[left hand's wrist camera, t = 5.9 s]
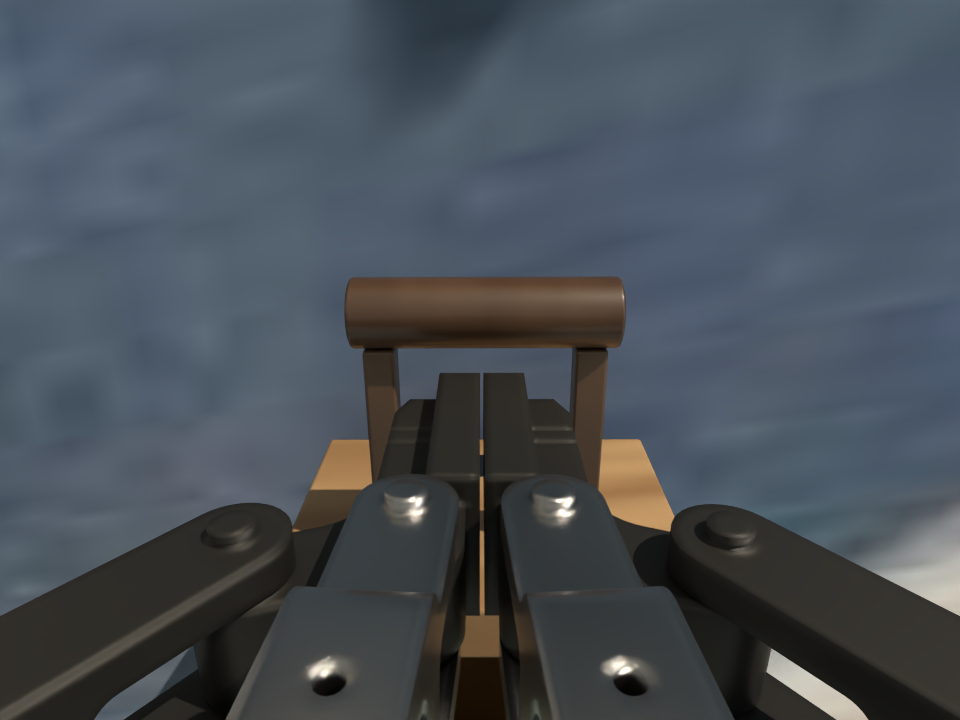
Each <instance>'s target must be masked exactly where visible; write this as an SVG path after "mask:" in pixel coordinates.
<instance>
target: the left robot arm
mask: <svg viewBox="0 0 960 720" xmlns="http://www.w3.org/2000/svg"><path fill="white" fill-rule="evenodd" d="M483 498H484V615H485V616H499V667H500V675H501V682H502V690H503V698H504V706H505V714H506V720H836V719H834V718H833V717H831V716H830V715H828V714H827V713H826V712H824V711H823V710H821V709H820V708H818V707H817V706H815V705H814V704H812V703H811V702H809V701H808V700H806V699H805V698H804V697H802V696H801V695H799V694H798V693H796V692H795V691H793V690H792V689H790V688H789V687H787V686H786V685H784V684H783V683H782V682H780V681H779V680H777V679H776V678H774V677H773V676H771V675H770V674H768V673H767V672H766V671H767V666H768V662H769V657H770V652H771V648H772V649H774V650H775V651H777V652H778V653H780V654H781V655H783V656H784V657H786V658H787V659H789V660H790V661H792V662H794V663H795V664H797V665H798V666H800V667H801V668H803V669H804V670H806V671H807V672H809V673H810V674H812V675H814V676H815V677H817V678H818V679H820V680H821V681H823V682H824V683H826V684H827V685H829V686H830V687H832V688H834V689H835V690H837V691H838V692H840V693H841V694H843V695H844V696H846V697H847V698H849V699H850V700H851V701H852V702H854V703H855V704H856V705H857V706H858V707H859V708H860V709H861V710H862V711H863V713H864V714H865V715H866V717H867V718H868V720H960V616H958V615H956V614H954V613H952V612H950V611H948V610H946V609H944V608H942V607H940V606H938V605H936V604H934V603H932V602H931V601H929V600H927V599H925V598H923V597H921V596H919V595H917V594H915V593H913V592H911V591H909V590H907V589H905V588H903V587H901V586H899V585H897V584H895V583H893V582H891V581H889V580H887V579H885V578H883V577H881V576H879V575H877V574H875V573H873V572H871V571H869V570H867V569H865V568H863V567H861V566H859V565H857V564H855V563H853V562H851V561H849V560H847V559H845V558H843V557H841V556H839V555H837V554H835V553H833V552H831V551H829V550H827V549H825V548H823V547H821V546H819V545H817V544H815V543H813V542H811V541H809V540H807V539H805V538H803V537H801V536H799V535H797V534H795V533H793V532H791V531H789V530H787V529H785V528H783V527H781V526H779V525H777V524H775V523H773V522H772V521H770V520H768V519H766V518H764V517H762V516H759V515H757V514H755V513H753V512H750V511H747V510H744V509H741V508H737V507H733V506H727V505H717V504H704V505H697V506H693V507H689V508H687V509H685V510H682V511H681V512H680V513H678V514H677V515H676V516H675V517H674V519H673V521H672V523H671V529H670V531H665V530H660V529H655V528H650V527H645V526H641V525H637V524H633V523H630V522H627V521H624V520H622V519H620V518H618V517H615V516H614V515H612V514H611V512H610V509H609V507H608V505H607V502H606V500H605V498H604V497H603V495H602V494H601V493H600V492H599V490H598V489H596V488H595V487H594V486H592V485H591V484H589V483H588V481H587V477H586V474H585V470H584V466H583V463H582V459H581V455H580V452H579V448H578V444H576V437H575V433H574V431H573V426H572V422H571V419H570V415H569V412H568V411H566V410H565V409H564V408H563V407H562V406H561V405H559V404H558V403H557V402H556V401H555V400H554V399H528V398H527V391H526V385H525V378H524V373H484V378H483ZM466 616H480V373H440V375H439V382H438V390H437V397H436V399H410V400H409V401H408V402H407V403H405V404H404V405H403V406H402V407H401V408H400V409H398V410H397V411H396V412H395V414H394V418H393V422H392V425H391V431H390V433H389V437H388V444H387V445H386V448H385V452H384V456H383V460H382V464H381V467H380V471H379V475H378V479H377V481H375V482H373V483H371V484H369V485H368V486H366V487H365V488H364V489H362V490H361V492H360V493H359V494H358V495H357V497H356V498H355V500H354V502H353V505H352V507H351V509H350V512H349V514H348V516H347V518H346V519H343V520H341V521H338V522H335V523H333V524H329V525H325V526H321V527H316V528H311V529H306V530H301V531H296V532H293V531H292V523H291V520H290V518H289V517H288V515H287V514H286V513H285V512H283V511H282V510H281V509H279V508H276V507H274V506H271V505H267V504H261V503H240V504H234V505H228V506H224V507H220V508H217V509H215V510H212V511H209V512H207V513H205V514H202V515H200V516H198V517H196V518H194V519H192V520H191V521H189V522H187V523H185V524H183V525H181V526H179V527H177V528H175V529H173V530H171V531H169V532H167V533H165V534H163V535H161V536H159V537H157V538H155V539H153V540H151V541H149V542H147V543H145V544H143V545H141V546H139V547H137V548H135V549H133V550H131V551H129V552H127V553H125V554H123V555H121V556H119V557H117V558H115V559H113V560H111V561H109V562H107V563H105V564H103V565H101V566H99V567H97V568H95V569H93V570H91V571H89V572H87V573H85V574H83V575H81V576H79V577H77V578H75V579H73V580H71V581H69V582H67V583H65V584H63V585H61V586H59V587H57V588H55V589H53V590H51V591H49V592H47V593H45V594H43V595H41V596H39V597H37V598H35V599H33V600H32V601H30V602H28V603H26V604H24V605H22V606H20V607H18V608H16V609H14V610H12V611H10V612H8V613H6V614H4V615H2V616H0V720H94V719H95V717H96V716H97V714H98V713H99V712H100V710H101V709H102V708H103V707H104V706H105V705H106V703H108V702H109V701H110V700H111V699H112V698H113V697H115V696H116V695H117V694H119V693H120V692H122V691H123V690H125V689H126V688H128V687H130V686H131V685H133V684H134V683H136V682H137V681H139V680H140V679H142V678H143V677H145V676H146V675H148V674H150V673H151V672H153V671H154V670H156V669H157V668H159V667H160V666H162V665H163V664H165V663H166V662H168V661H170V660H171V659H173V658H174V657H176V656H177V655H179V654H180V653H182V652H183V651H185V650H186V649H188V648H190V647H191V646H194V651H195V656H196V660H197V665H198V670H196V671H195V672H193V673H192V674H190V675H189V676H187V677H186V678H184V679H183V680H181V681H180V682H178V683H177V684H176V685H174V686H173V687H171V688H170V689H168V690H167V691H165V692H164V693H162V694H161V695H159V696H158V697H156V698H155V699H154V700H152V701H151V702H149V703H148V704H146V705H145V706H143V707H142V708H140V709H139V710H137V711H136V712H134V713H133V714H132V715H130V716H129V717H127V718H126V719H124V720H454V714H455V706H456V698H457V690H458V682H459V675H460V667H461V645H462V643H463V640H464V638H465V629H466Z"/></svg>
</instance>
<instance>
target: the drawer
mask: <svg viewBox="0 0 960 720" xmlns="http://www.w3.org/2000/svg"><path fill="white" fill-rule="evenodd" d="M344 311H345V328H346V335H347V339H348V342H349V344H350V346H351V347H352V348H365V349H364V351H363V368H364V381H365V395H366V408H367V422H368V436H369V440H332V441H331V442H330V444H329V447H328V449H327V451H326V453H325V456H324V458H323V460H322V462H321V465H320V467H319V469H318V471H317V474H316V476H315V478H314V480H313V483H312V485H311V487H310V490H309V492H308V494H307V496H306V499H305V501H304V503H303V505H302V508H301V510H300V512H299V514H298V517H297V519H296V521H295V524H294V526H293V528H292V531H293V532H296V531H301V530H306V529H311V528H316V527H321V526H325V525H329V524H333V523H335V522H338V521H341V520H343V519H346V518H347V516H348V514H349V512H350V509H351V507H352V505H353V502H354V500H355V498H356V497H357V495H358V494H359V493H360V492H361V490H362V489H364V488H365V487H366V486H368V485H369V484H371V483H373V482H375V481H377V479H378V475H379V471H380V467H381V464H382V460H383V456H384V452H385V448H386V445H387V444H388V437H389V433H390V431H391V425H392V422H393V418H394V414H395V412H396V411H397V410H398V409H400V408H401V406H400V387H399V368H398V349H397V348H573V351H572V372H571V393H570V413H569V415H570V419H571V422H572V426H573V431H574V433H575V437H576V444H578V448H579V452H580V455H581V459H582V463H583V466H584V470H585V474H586V477H587V481H588V483H589V484H591V485H592V486H594V487H595V488H596V489H598V490H599V492H600V493H601V494H602V495H603V497H604V498H605V500H606V502H607V505H608V507H609V509H610V512H611V514H612V515H614V516H615V517H618V518H620V519H622V520H624V521H627V522H630V523H633V524H637V525H641V526H645V527H650V528H655V529H660V530H665V531H670V529H671V523H672V521H673V519H674V515H673V513H672V510H671V508H670V506H669V504H668V502H667V499H666V497H665V495H664V493H663V490H662V488H661V486H660V484H659V481H658V479H657V477H656V475H655V472H654V470H653V468H652V466H651V463H650V461H649V459H648V457H647V454H646V452H645V450H644V448H643V445H642V443H641V441H640V440H638V439H602V434H603V419H604V405H605V390H606V376H607V361H608V352H607V349H606V348H617V347H619V346H620V345H621V342H622V339H623V336H624V330H625V320H626V301H625V292H624V286H623V283H622V280H621V279H620V278H619V277H361V278H351V279H350V280H349V282H348V284H347V288H346V294H345V310H344ZM454 720H506V714H505V706H504V698H503V690H502V682H501V675H500V667H499V616H485V615H484V498H483V440H480V616H466V629H465V638H464V640H463V643H462V645H461V667H460V675H459V682H458V690H457V698H456V706H455V714H454Z"/></svg>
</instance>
